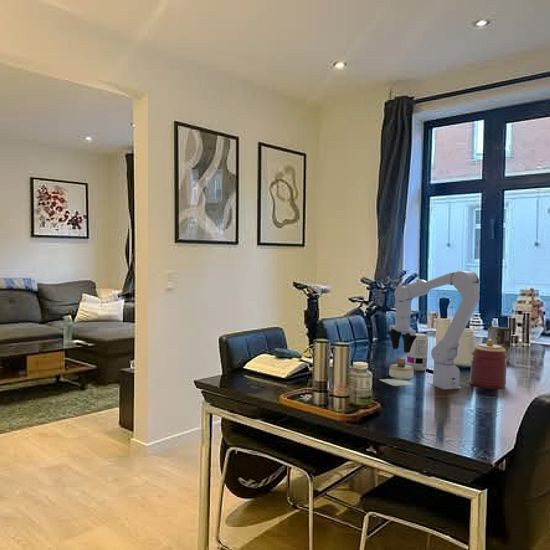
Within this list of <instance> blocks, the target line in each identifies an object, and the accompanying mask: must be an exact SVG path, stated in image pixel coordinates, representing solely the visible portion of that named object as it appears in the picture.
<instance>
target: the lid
mask: <svg viewBox="0 0 550 550" xmlns="http://www.w3.org/2000/svg"><path fill="white" fill-rule="evenodd" d="M406 361H407V358H403V357H398V358H397V363H395V364H389V368H390V369H392V370H396V371H412V370H413V367H411V366H408V365H407V364H406Z"/></svg>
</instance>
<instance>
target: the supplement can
mask: <svg viewBox="0 0 550 550" xmlns="http://www.w3.org/2000/svg"><path fill="white" fill-rule="evenodd" d="M416 336H417V337H416V339H415V340H414V342H413V344H412V347H411V350H410V353H406V354H407V356H406V365H408V366H411V367H413V369H414V372H415V371H416V372H420V371H421V372H423V371H425V370H426V369H427V368H428V349H429V338H428V334H426V333H421V332H416Z"/></svg>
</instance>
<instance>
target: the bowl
mask: <svg viewBox="0 0 550 550" xmlns="http://www.w3.org/2000/svg"><path fill="white" fill-rule="evenodd" d="M414 372H415V370H414V369H413V370H412V371H396V370H392V369H390V367H389V369H388V376H390V377H392V378H393V379H396V378H400V379H402V380H409V379H413V378H414V374H415V373H414Z"/></svg>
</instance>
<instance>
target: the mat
mask: <svg viewBox="0 0 550 550" xmlns="http://www.w3.org/2000/svg"><path fill="white" fill-rule="evenodd" d="M379 381H380V382H382V383H385V384H388V385H390V386H393V387H398V386H399V387H401V386H413V385H416V384H415V383H413V382H410V381H408V380H406V379H400V378H385V379H381V378H380V379H379Z"/></svg>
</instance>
